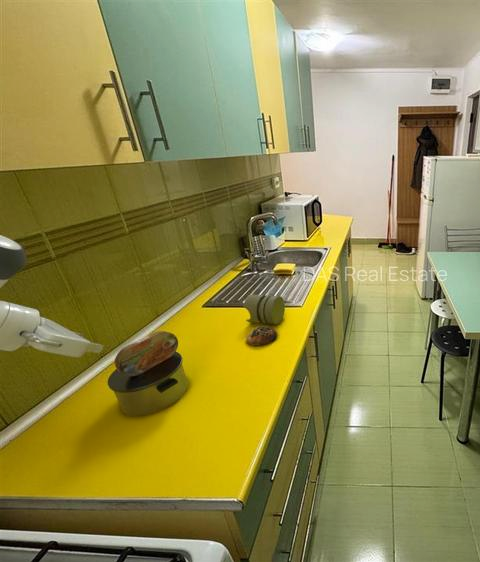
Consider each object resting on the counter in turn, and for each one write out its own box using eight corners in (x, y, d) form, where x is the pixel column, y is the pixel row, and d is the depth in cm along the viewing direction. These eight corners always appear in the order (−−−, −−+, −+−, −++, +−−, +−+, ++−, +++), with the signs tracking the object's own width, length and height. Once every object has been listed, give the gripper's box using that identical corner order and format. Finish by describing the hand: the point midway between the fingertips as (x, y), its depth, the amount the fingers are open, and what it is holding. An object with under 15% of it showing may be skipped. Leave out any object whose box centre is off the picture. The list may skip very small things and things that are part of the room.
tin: (125, 382, 79) (113, 356, 76) (119, 379, 80) (107, 352, 77) (182, 351, 91) (174, 327, 88) (175, 348, 92) (168, 324, 89)
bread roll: (275, 344, 109) (271, 332, 108) (244, 351, 109) (240, 339, 107) (279, 329, 120) (276, 318, 118) (251, 335, 119) (247, 324, 117)
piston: (260, 313, 132) (255, 290, 127) (286, 315, 130) (282, 291, 125) (246, 327, 121) (240, 302, 117) (274, 329, 119) (269, 304, 115)
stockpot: (105, 402, 85) (92, 376, 81) (167, 367, 99) (158, 343, 95) (143, 429, 77) (130, 400, 73) (205, 386, 90) (197, 361, 87)
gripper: (44, 325, 57) (121, 342, 69) (5, 302, 66) (79, 321, 77) (21, 357, 55) (104, 369, 67) (-16, 330, 64) (64, 344, 75)
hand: (91, 343), depth 72 cm, fingers open, 8 cm apart
